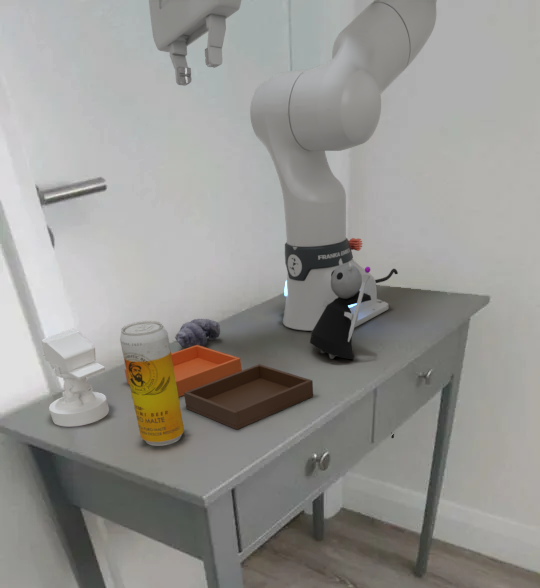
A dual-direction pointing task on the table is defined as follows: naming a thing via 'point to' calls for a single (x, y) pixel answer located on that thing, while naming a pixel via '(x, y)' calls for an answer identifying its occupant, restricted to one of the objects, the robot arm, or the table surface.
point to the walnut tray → (248, 395)
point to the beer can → (152, 382)
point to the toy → (341, 312)
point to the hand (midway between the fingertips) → (198, 75)
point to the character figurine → (74, 379)
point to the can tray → (200, 367)
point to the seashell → (197, 332)
